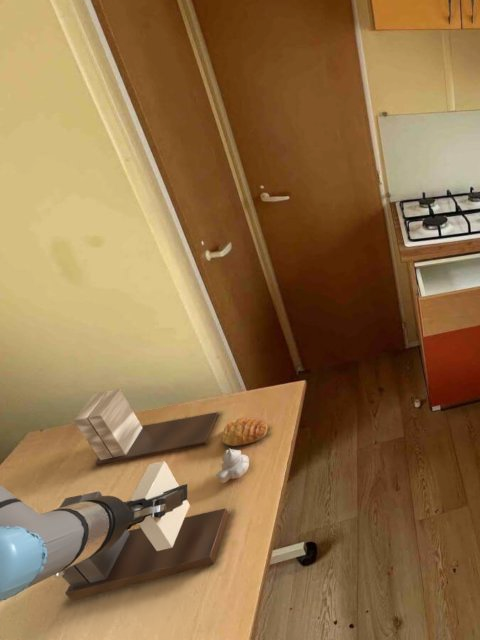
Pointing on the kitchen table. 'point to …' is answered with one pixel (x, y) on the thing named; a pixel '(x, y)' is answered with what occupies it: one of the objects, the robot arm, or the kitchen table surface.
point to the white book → (168, 525)
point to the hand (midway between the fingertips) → (175, 494)
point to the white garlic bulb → (233, 465)
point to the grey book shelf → (146, 555)
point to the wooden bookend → (136, 430)
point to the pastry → (243, 431)
